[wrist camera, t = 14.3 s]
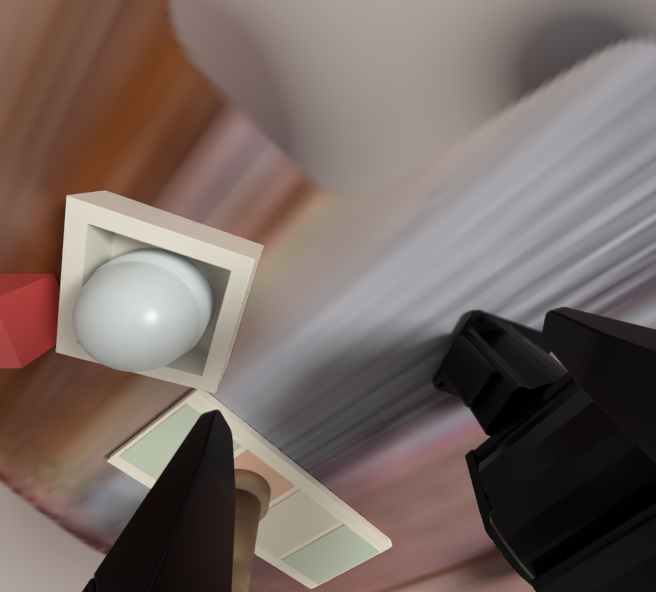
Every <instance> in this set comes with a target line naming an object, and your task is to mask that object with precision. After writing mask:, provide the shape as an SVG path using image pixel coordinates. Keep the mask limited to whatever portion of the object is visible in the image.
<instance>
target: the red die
mask: <svg viewBox="0 0 656 592" xmlns="http://www.w3.org/2000/svg"><path fill="white" fill-rule="evenodd" d="M59 299H60V288H59V285H58V282H57V279H56V276H55V273H30V274H0V368H23V367H25V366H26V365H27V364H29V363H30V362H32V361H33V360H35V359H36V358H37V357H39V356H40V355H42V354H43V353H45V352H46V351H47V350H49V349H50V348H52V347H53V346H55V345H56V343H57V328H58V314H59Z"/></svg>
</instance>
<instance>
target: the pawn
mask: <svg viewBox="0 0 656 592" xmlns="http://www.w3.org/2000/svg"><path fill="white" fill-rule="evenodd" d="M235 486H236V515H235V535H234V555H233V575H232V592H248V591H249V584H250V577H251V571H252V564H253V558H254V551H255V545H256V538H257V531H258V525H259V521H261V520H262V519H263V518H264V517H265V516H266V514H267V512H268V510H269V502H270V494H271V489H270V486H269V484H268V482H267V481H266V480H265V479H264V478H263V477H262V476H261V475H259V474H257V473H255V472H253V471H250V470H245V469H235Z"/></svg>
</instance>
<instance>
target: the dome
mask: <svg viewBox="0 0 656 592" xmlns="http://www.w3.org/2000/svg"><path fill="white" fill-rule="evenodd" d="M214 309H215V300H214V294H213V290H212V288H211V285H210V283H209V281H208V279H207V278H206V276H205V275H204V274H203V272H202V271H201V270H200V269H199V268H198V267H197V266H196V265H195V264H194V263H193V262H191V261H190V260H188V259H187V258H186V257H184V256H182V255H180V254H178V253H175V252H173V251H170V250H166V249H162V248H150V247H148V248H140V249H136V250H133V251H130V252H128V253H126V254H124V255H122V256H120V257H117V258H115V259H113V260H111V261H109V262H107V263H106V264H104V265H102V266H101V267H100V268H99V269H97V270H96V271H95V273H94V274H93V275H92V276H91V278H90V280H89V281H88V282H87V283H86V284H85V285H84V286H83V287H82V289H81V291H80V292H79V294H78V296H77V298H76V300H75V303H74V307H73V312H72V324H73V329H74V333H75V335H76V338H77V340H78V342H79V343H80V345H81V347H82V348H83V349H84V350H85V352H86V353H87V354H88V355H89V356H91V357H92V358H93V359H94V360H96V361H97V362H99V363H101V364H103V365H105V366H107V367H110V368H113V369H116V370H121V371H127V372H142V371H149V370H154V369H157V368H160V367H163V366H165V365H167V364H169V363H171V362H173V361H174V360H176V359H177V358H179V357H180V356H181V355H183V354H185V353H187V352H188V351H189V350H191V349H192V348H193V347H194V346H195V345H196V343H197V342H198V341H199V339H200V338H201V336H202V335H203V333H204V332H205V330H206V329H207V327H208V325H209V324H210V322H211V320H212V317H213V314H214Z"/></svg>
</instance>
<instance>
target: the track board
mask: <svg viewBox="0 0 656 592" xmlns="http://www.w3.org/2000/svg"><path fill="white" fill-rule="evenodd" d="M215 409H218V410H220V411H221V413H222V415H223V416H224V418H225V420H226V422H227V423H228V425H229V427H230V429H231V431H232V436H233V451H234V468H235V469H245V470H250V471H253V472H255V473H257V474H259V475H261V476H262V477H263V478H264V479H265V480H266V481H267V482H268V484H269V486H270V489H271V494H270V502H269V510H268V512H267V514H266V516H265V517H264V518H263V519H262V520H261V521H259V525H258V531H257V538H256V545H255V551H254V554H256V555H257V556H259V557H260V558H262V559H263V560H265V561H267V562H268V563H270V564H271V565H273V566H275V567H276V568H278V569H279V570H281V571H283V572H284V573H286V574H287V575H289V576H291V577H292V578H294V579H295V580H297V581H299V582H300V583H302V584H303V585H305V586H307V587H308V588H310V589H313V588H315V587H317V586H319V585H321V584H323V583H324V582H326V581H328V580H330V579H332V578H334V577H336V576H338V575H340V574H341V573H343V572H345V571H347V570H349V569H351V568H353V567H355V566H357V565H358V564H360V563H362V562H364V561H366V560H368V559H370V558H372V557H374V556H376V555H377V554H379V553H381V552H383V551H385V550H387V549H389V548H391V547H392V543H391V539H389V538H388V537H387V536H386V535H384V534H383V533H382V532H381V531H379V530H378V529H377V528H376V527H374V526H373V525H372V524H371V523H369V522H368V521H367V520H366V519H364V518H363V517H362V516H361V515H359V514H358V513H357V512H356V511H354V510H353V509H352V508H351V507H349V506H348V505H347V504H346V503H345V502H343V501H342V500H341V499H340V498H338V497H337V496H336V495H335V494H333V493H332V492H331V491H330V490H328V489H327V488H326V487H325V486H323V485H322V484H321V483H320V482H318V481H317V480H316V479H315V478H313V477H312V476H311V475H310V474H308V473H307V472H306V471H305V470H303V469H302V468H301V467H300V466H298V465H297V464H296V463H295V462H293V461H292V460H291V459H290V458H288V457H287V456H286V455H285V454H283V453H282V452H281V451H280V450H278V449H277V448H276V447H275V446H273V445H272V444H271V443H270V442H268V441H267V440H266V439H265V438H264V437H262V436H261V435H260V434H259V433H257V432H256V431H255V430H254V429H252V428H251V427H250V426H249V425H247V424H246V423H245V422H244V421H242V420H241V419H240V418H239V417H237V416H236V415H235V414H234V413H232V412H231V411H230V410H229V409H227V408H226V407H225V406H224V405H222V404H221V403H220V402H219V401H217V400H216V399H215V398H214V397H212V396H211V395H210V394H209V393H207V392H206V391H203V390H200V389H196V388H195V389H194V390H193V391H191V392H190V393H189V394H188V395H186V396H185V397H184V398H182V399H181V400H180V401H179V402H177V403H176V404H175V405H174V406H172V407H171V408H170V409H168V410H167V411H166V412H165V413H163V414H162V415H161V416H160V417H158V418H157V419H156V420H154V421H153V422H152V423H151V424H149V425H148V426H147V427H146V428H144V429H143V430H142V431H141V432H139V433H138V434H137V435H135V436H134V437H133V438H132V439H130V440H129V441H128V442H127V443H125V444H124V445H123V446H121V447H120V448H119V449H118V450H116V451H115V452H114V453H113V454H111V456H110V457H109V458H108V460H107V462H109V463H110V464H112V465H114V466H115V467H117V468H118V469H120V470H122V471H123V472H125V473H126V474H128V475H130V476H131V477H133V478H134V479H136V480H138V481H139V482H141V483H142V484H144V485H146V486H147V487H149V488H150V489H151V488H152V487H153V485H154V484H155V482H156V481H157V479H158V478H159V476H160V475H161V473H162V472H163V470H164V469H165V467H166V466H167V464H168V463H169V461H170V460H171V458H172V457H173V455H174V454H175V452H176V451H177V450H178V448H179V447H180V445H181V444H182V442H183V441H184V439H185V438H186V436H187V435H188V433H189V432H190V430H191V429H192V427H193V426H194V424H195V423H196V421H197V420H198V418H199V417H200V415H201V414H203V413H205V412H208V411H212V410H215Z"/></svg>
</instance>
